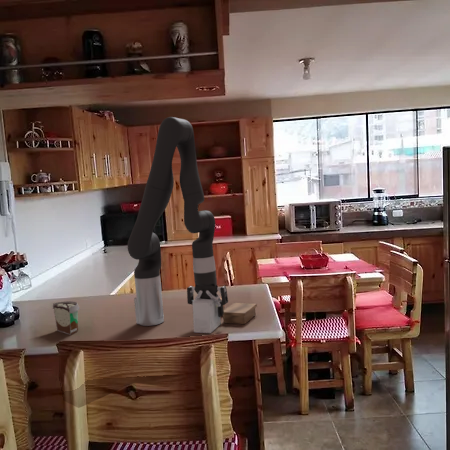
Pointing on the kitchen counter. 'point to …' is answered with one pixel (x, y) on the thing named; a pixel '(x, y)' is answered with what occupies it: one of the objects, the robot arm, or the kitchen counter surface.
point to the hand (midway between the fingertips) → (209, 316)
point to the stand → (239, 313)
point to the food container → (66, 316)
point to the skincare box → (205, 315)
